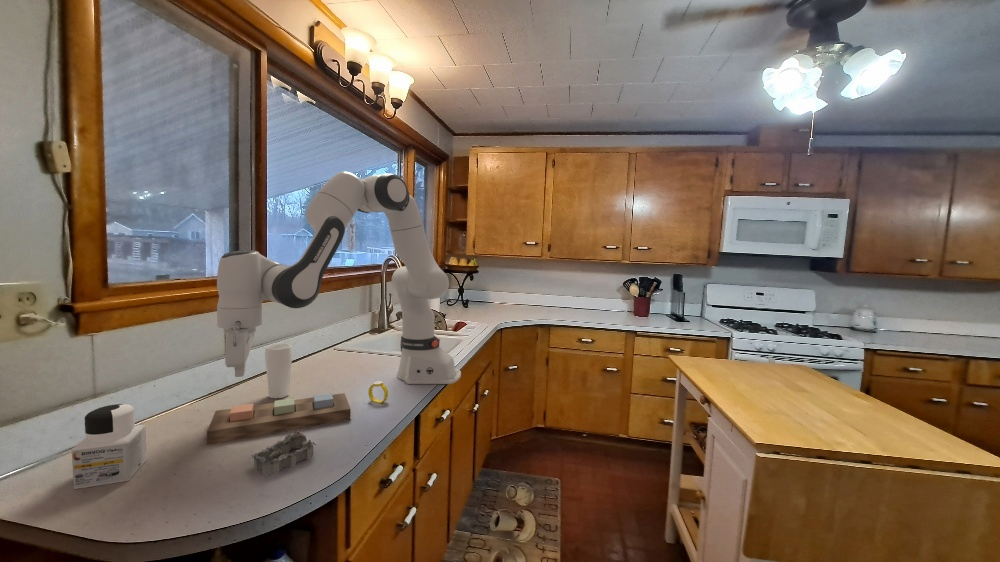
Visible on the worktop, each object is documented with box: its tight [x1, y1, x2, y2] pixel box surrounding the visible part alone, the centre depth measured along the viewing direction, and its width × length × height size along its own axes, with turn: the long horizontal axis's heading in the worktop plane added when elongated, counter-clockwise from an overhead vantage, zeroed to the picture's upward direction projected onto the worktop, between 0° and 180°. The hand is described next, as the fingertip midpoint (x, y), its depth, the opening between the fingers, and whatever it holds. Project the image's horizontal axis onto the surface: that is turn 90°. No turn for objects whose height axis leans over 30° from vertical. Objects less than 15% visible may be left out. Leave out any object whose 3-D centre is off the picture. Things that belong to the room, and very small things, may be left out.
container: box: [71, 403, 148, 490], centre depth 73 cm, size 8×8×13 cm
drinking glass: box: [264, 343, 293, 399], centre depth 113 cm, size 7×7×15 cm
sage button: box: [274, 398, 295, 415], centre depth 97 cm, size 4×4×3 cm
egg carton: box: [250, 429, 317, 476], centre depth 80 cm, size 11×8×4 cm
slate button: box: [313, 392, 333, 409], centre depth 102 cm, size 4×4×3 cm
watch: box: [367, 380, 389, 404], centre depth 112 cm, size 6×3×6 cm, turn 71°
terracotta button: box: [230, 403, 255, 422], centre depth 93 cm, size 4×4×3 cm
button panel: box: [206, 392, 352, 445], centre depth 98 cm, size 30×12×3 cm, turn 119°
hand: (240, 375), depth 92 cm, fingers closed
